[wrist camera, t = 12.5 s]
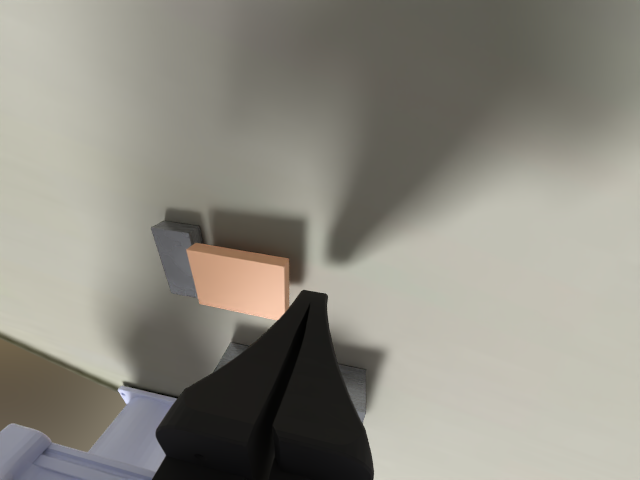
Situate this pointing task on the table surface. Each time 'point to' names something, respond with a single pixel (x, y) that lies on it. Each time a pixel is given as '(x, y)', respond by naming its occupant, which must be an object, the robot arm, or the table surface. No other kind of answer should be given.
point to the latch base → (177, 254)
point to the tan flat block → (240, 280)
